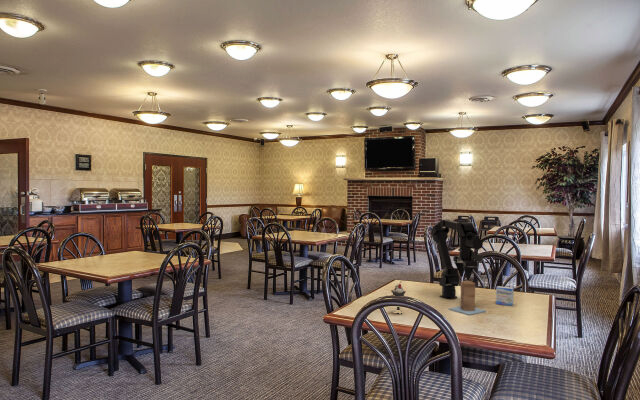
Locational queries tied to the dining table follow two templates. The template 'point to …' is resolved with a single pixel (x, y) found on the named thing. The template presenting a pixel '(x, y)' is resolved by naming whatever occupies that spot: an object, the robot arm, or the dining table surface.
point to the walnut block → (467, 295)
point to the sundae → (398, 292)
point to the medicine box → (504, 295)
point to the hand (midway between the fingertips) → (464, 278)
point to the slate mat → (458, 309)
